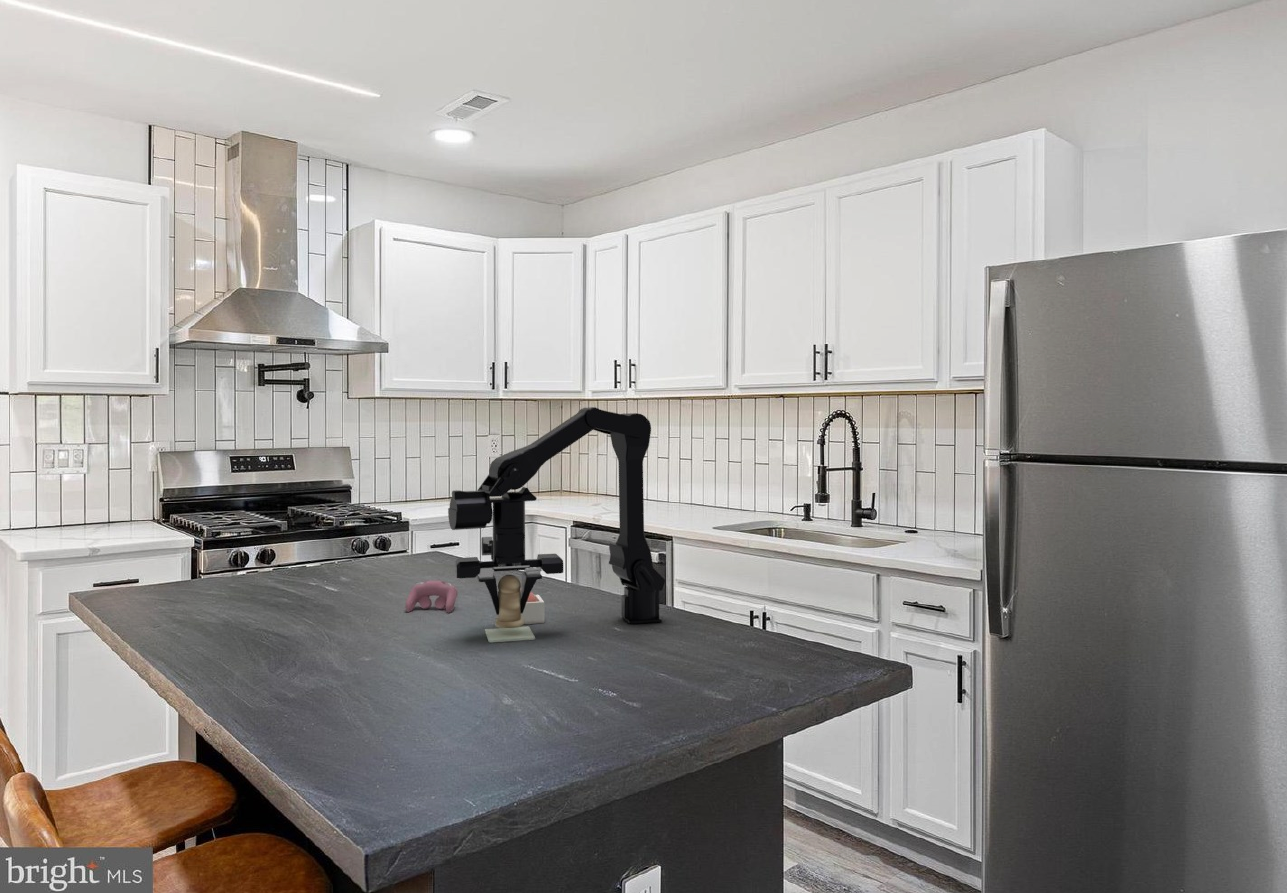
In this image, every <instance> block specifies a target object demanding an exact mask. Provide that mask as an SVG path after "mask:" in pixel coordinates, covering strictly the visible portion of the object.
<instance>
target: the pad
mask: <svg viewBox="0 0 1287 893" xmlns="http://www.w3.org/2000/svg"><path fill="white" fill-rule="evenodd" d="M484 633H485V636H486V637H487V641H488V643H502V642H505V643H506V642H518V641H530V640H532V641H533V640H536V637H535V635H534V633H533V631H532V630H531V628H530V626H521V627H517V628H499V627H496V628H486V629H484Z"/></svg>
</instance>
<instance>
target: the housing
mask: <svg viewBox="0 0 1287 893" xmlns="http://www.w3.org/2000/svg"><path fill="white" fill-rule="evenodd" d="M534 596H535V598H536V602H527V603H526V605H525V608H524V611H523V613H521V617H522V618H524V625H532V624H534V625H535V624H545V601H544V600H543V598H542V597H541V595H539V594H534Z"/></svg>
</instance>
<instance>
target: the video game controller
mask: <svg viewBox="0 0 1287 893" xmlns="http://www.w3.org/2000/svg"><path fill="white" fill-rule="evenodd" d="M458 593H459V592H458V589H457V588H456V586H454V585H452V584H451V583H449V582H445V581H442V580H427V581H423V582H416V584H415V585H414V586H412V588H411V589H410V592H409V594H408V596H407V598H406V602H405V607H404V608H405V611H406V613H410V612H412V610H413V609H414V608H415V607H416V606H417V603H418V604H419V607H421V608H422V610H429V609H430V608H431V607H432V603H433V602H432V599H431V598H430V597H431V596H432V597H433V596H437V598H436V599H435V600H434V606H435V608H436V609H438V610H441V611H442V610H444V609H445V611H446V613H447V614H450V613H452V611H453V609H454V608H455V605H456V601H457V600H456V599H457V597H458Z"/></svg>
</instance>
